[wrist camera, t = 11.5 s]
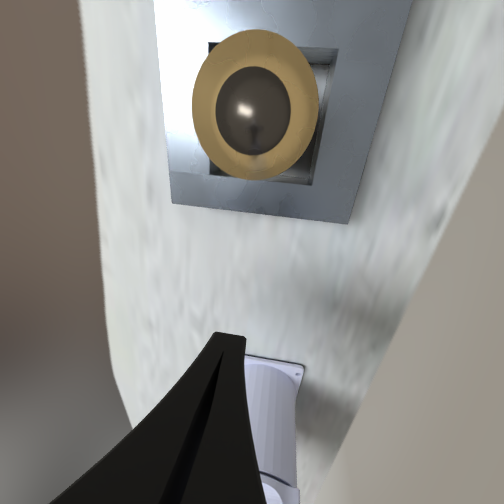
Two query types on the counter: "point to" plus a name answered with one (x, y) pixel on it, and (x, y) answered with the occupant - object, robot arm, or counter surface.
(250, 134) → the bushing
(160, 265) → the counter surface
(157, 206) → the counter surface
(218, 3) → the plate
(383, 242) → the counter surface
